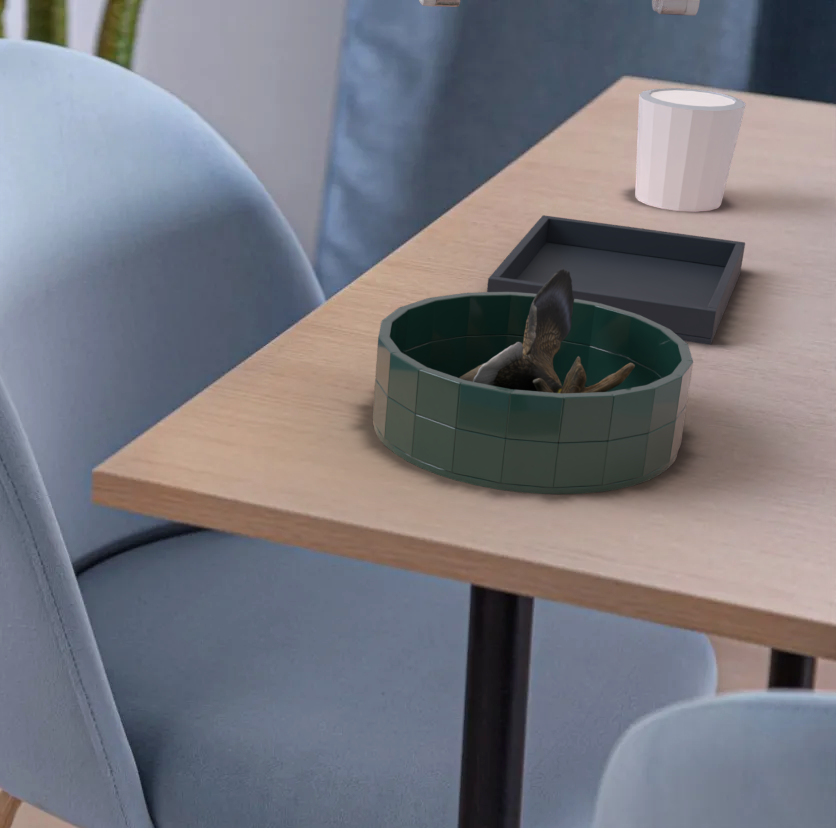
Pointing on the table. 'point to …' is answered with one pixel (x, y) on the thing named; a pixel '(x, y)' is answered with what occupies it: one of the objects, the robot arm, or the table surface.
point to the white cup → (685, 147)
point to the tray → (630, 271)
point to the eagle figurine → (543, 349)
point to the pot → (529, 397)
